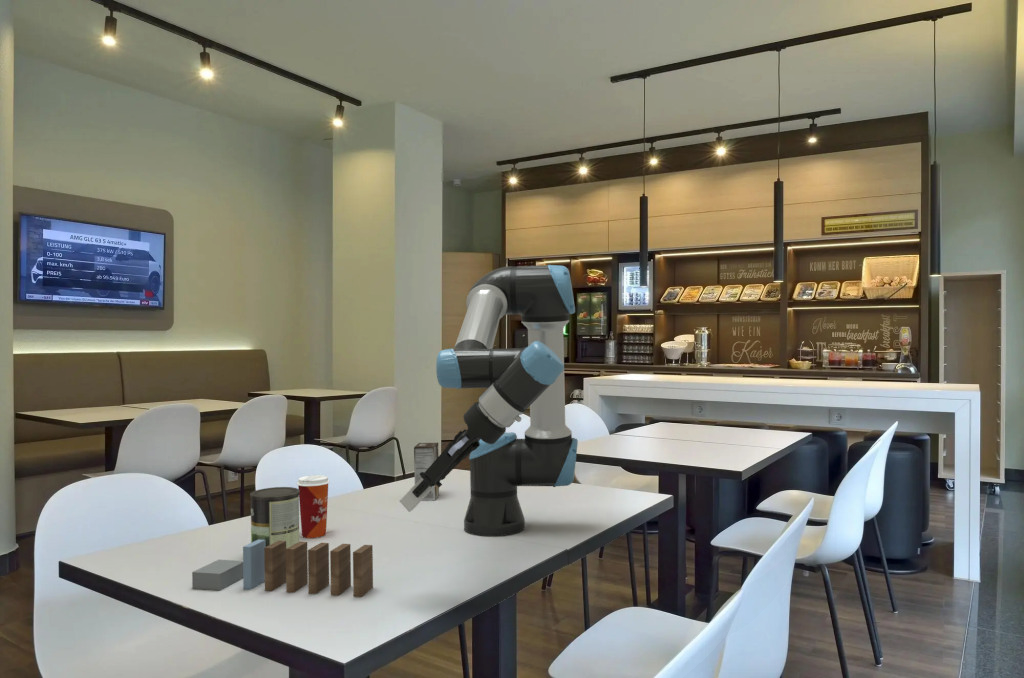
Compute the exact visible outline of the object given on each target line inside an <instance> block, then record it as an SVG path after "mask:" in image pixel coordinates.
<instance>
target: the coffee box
mask: <svg viewBox="0 0 1024 678" xmlns="http://www.w3.org/2000/svg"><path fill="white" fill-rule="evenodd" d="M439 456H440V455H439V442H418V443H417V444H416V445H415V446H413V458H414V460H413V464H414V465H413V466H414V485H415V484H416V483H417V482H418V481H419V480H420V479H421V478H422V477H421V476H420V475H419V474H420V473H421V472H424V473H425V471H426V470H427V469H428V468H429V467H430V466H431V465H432V464H433V462H434V461H435V460H436V459H437V458H438V457H439ZM439 495H440V487H438V486H437V485H436V484H435V487H434V488H433V489H432V490H431V491H430V492H429V493H428V494H427V495H426V496H425V497H424V499H423V500H422V501H424V502H426V501H431V502H432V501H433V502H434V501H436V500H437V498H438V496H439ZM422 501H421V502H422Z"/></svg>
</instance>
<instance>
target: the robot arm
mask: <svg viewBox="0 0 1024 678" xmlns="http://www.w3.org/2000/svg"><path fill="white" fill-rule="evenodd" d="M574 300H575V299H574V292H573V286H572V280H571V274H570V270H569V269H568V268H567V267H566V266H564V265H555V264H547V265H546V264H545V265H544V264H543V265H524V266H523V265H521V266H519V265H518V266H512V265H511V266H503V267H499V268H496V269H493V270H492V271H490V272H487V273H486V274H485V275H483V276H482V277H480V278H479V279H478V280H477V281H476V282H475V283H474V284H473V286H472V287H471V288H470V290H469V291H468V294H467V296H466V301H465V302H466V303H465V304H466V309H467V310H466V313H465V315H464V319H463V322H462V325H461V327H460V330H459V333H458V336H457V338H456V342H455V345H454V348H447V349H443V350H440V351H439V352H438V354H437V357H436V366H435V367H436V368H435V369H436V373H435V374H436V379H437V382H438V384H439V386H440V387H441V388H444V389H446V388H447V389H457V390H462V389H486V390H485V391H484V392H483V393H482V394H481V395H480V396H479V397H478V401H475V402H474V403H473V404H472V405H471V406H470V407H469V408H468V410H466V412H465V413H463V421H464V423H465V425H466V427H467V429H466V428H465V429H463V430H460V431H459V432H457V434H456V435H454V439H453V440H451V441H450V442H449V443H447V446H446V447H445V448H444V450H443V451H442V452H441V454H439V455H438V456H439V457H438V458H437V459H436V460H435V461H434V462H433V464H432V465H431V466H430V467H429V468H428V469H427V470H426V471H425V473H424V472H421V473H420V474H419V475H420V476H421V477H422V478H421V479H420V480H419V481H418V482H417V483H416V484H415V483H414V485H413V486H412V487H411V488H410V489H409V491H407V492H406V494H405V495H403V496H402V498H401V499H400V500H398V502H399V503H400V504H401V505H402V506H403V508H404V509H405V510H407V512H409V513H410V512H412V511H414V509H415V508H416V507H418V505H419V504H420V503H421V502H422V500H423V499H424V497H425V496H426V495H427V494H428V493H429V492H430V491H431V490H432V489H433V488H434V487H435V484H436V485H437V486H438V487H439V488H441V486H442V485H443V484H442V482H441V481H443V480H445V479H446V477H447V476H448V475H449V474H450V473H451V472H452V471H453V470H455V468H456V467H457V466H458V465H459V464H460V463H461V462H462V461H463V460H465V459H467V457H468V456H469V457H468V459H469V474H470V475H469V476H470V477H469V479H470V481H469V482H470V498H469V502H468V504H467V505H468V506H467V510H466V512H465V515H464V519H463V529H464V531H465V533H469V534H472V535H477V536H486V537H494V536H495V537H496V536H497V537H498V536H508V535H509V536H510V535H513V534H517V533H519V532H522V531H524V530H525V528H526V520H525V516H524V513H523V510H522V507H521V503H520V501H519V498H518V487H553V488H556V487H567V486H570V485H571V484H573V482H574V478H575V471H576V463H577V452H578V439H577V438H575V437H573V435H572V434H573V432H572V430H571V429H570V428H569V427H568V426H567V424H566V396H565V395H566V393H565V356H564V355H565V352H564V351H565V348H564V347H565V345H564V328H565V327H566V326H567V324H568V323H569V322H570V315H572V314H575V313H576V306H575V301H574ZM506 315H508V316H509V315H512V316H513V315H515V316H516V315H517V316H519V315H520V316H521V317H520V318H521V324H523V326H524V327H526V329H527V343H528V346H526V347H522V348H521V347H520V348H519V347H517V348H516V347H514V348H513V347H512V348H494V343H495V339H496V335H497V331H498V328H499V323H500V320H501V319H502V318H503V317H504V316H506ZM528 408H529V421H530V425H529V426H528V428H527V429H526V430H525V431H524V438H518V435H517V433H515V432H506V430H507V428H510V427H512V425H514V423H515V422H517V423H520V422H521V421H522V417H521V415H523V413H525V412H526V411H527V410H528Z"/></svg>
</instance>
